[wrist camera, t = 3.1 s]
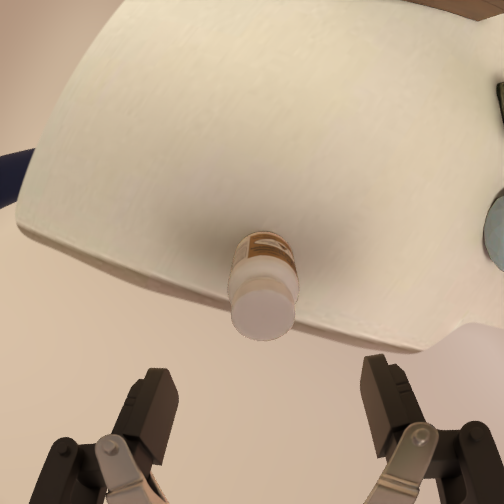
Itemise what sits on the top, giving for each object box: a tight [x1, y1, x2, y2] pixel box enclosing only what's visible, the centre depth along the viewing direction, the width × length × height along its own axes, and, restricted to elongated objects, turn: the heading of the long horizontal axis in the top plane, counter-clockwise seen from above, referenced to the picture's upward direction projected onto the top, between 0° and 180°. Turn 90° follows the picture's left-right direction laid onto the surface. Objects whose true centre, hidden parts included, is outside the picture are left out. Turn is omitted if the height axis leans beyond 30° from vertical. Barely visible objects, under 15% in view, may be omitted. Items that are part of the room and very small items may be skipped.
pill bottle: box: [227, 232, 299, 341], centre depth 19 cm, size 4×4×8 cm
